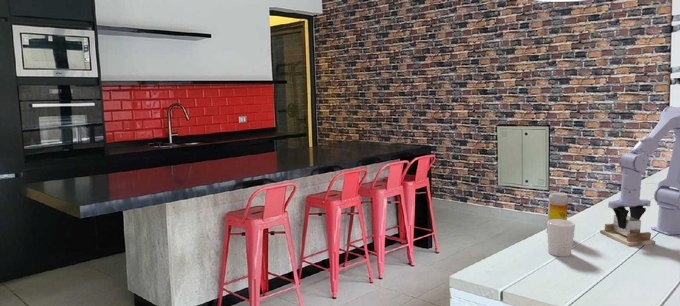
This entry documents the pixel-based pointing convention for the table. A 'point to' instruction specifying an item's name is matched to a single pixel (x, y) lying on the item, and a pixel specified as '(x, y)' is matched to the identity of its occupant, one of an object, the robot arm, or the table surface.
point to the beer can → (557, 206)
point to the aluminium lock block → (627, 226)
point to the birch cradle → (628, 236)
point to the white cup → (560, 237)
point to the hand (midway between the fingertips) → (627, 227)
